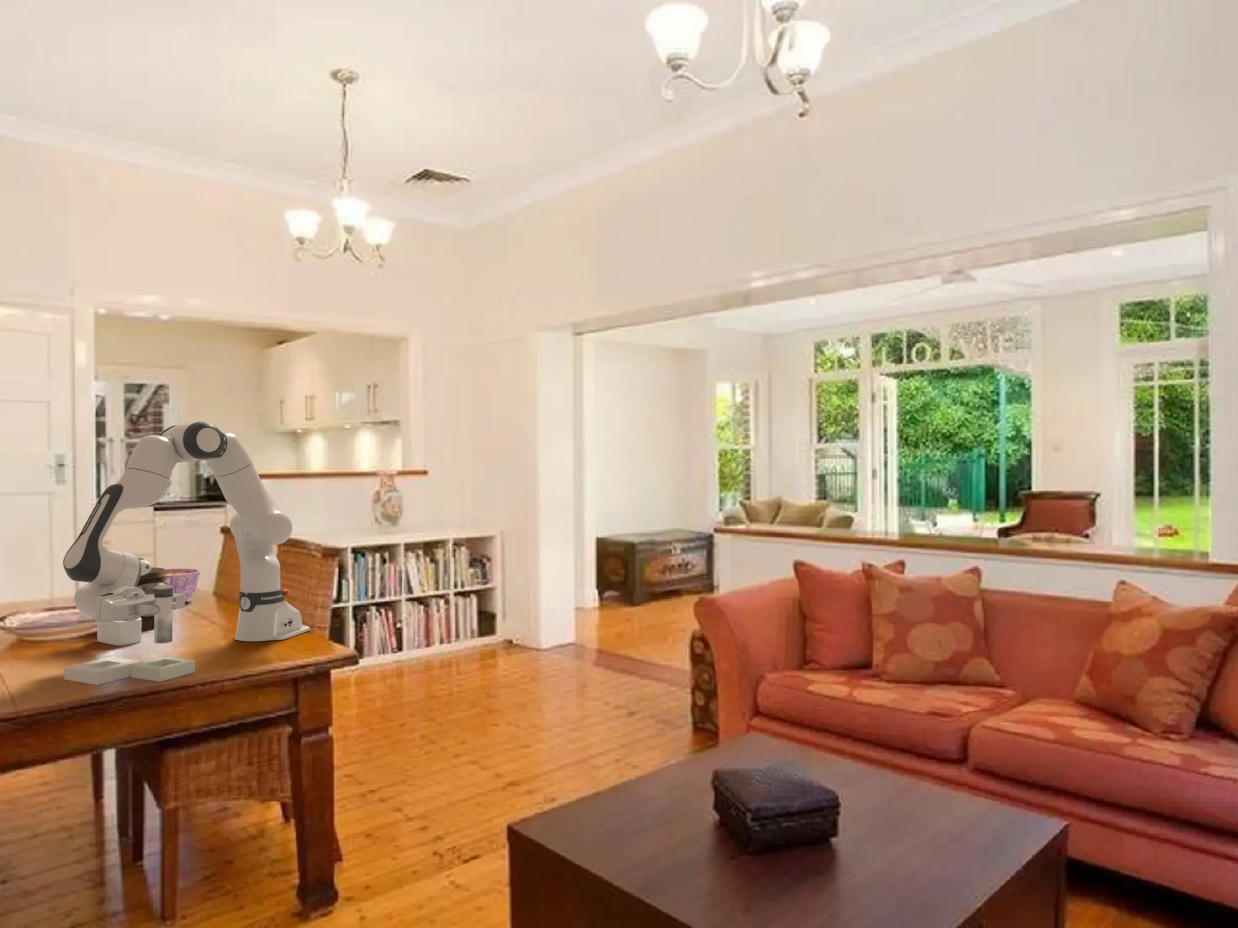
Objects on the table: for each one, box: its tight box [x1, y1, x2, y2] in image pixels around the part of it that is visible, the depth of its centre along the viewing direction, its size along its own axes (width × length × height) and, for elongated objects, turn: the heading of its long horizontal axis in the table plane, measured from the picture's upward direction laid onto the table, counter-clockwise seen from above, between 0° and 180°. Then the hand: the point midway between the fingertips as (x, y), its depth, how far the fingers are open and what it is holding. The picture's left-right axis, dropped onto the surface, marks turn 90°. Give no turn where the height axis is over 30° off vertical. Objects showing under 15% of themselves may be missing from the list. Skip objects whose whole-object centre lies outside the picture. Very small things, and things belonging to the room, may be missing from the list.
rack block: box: [130, 656, 196, 683], centre depth 213 cm, size 10×10×3 cm
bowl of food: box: [164, 568, 201, 601], centre depth 314 cm, size 20×20×12 cm
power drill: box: [96, 559, 152, 647], centre depth 248 cm, size 8×24×25 cm, turn 58°
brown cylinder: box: [136, 557, 166, 631], centre depth 271 cm, size 15×15×22 cm
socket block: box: [63, 656, 144, 686], centre depth 211 cm, size 12×12×3 cm
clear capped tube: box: [153, 585, 174, 644], centre depth 213 cm, size 4×4×14 cm
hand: (166, 607), depth 212 cm, fingers closed on clear capped tube, 4 cm apart
